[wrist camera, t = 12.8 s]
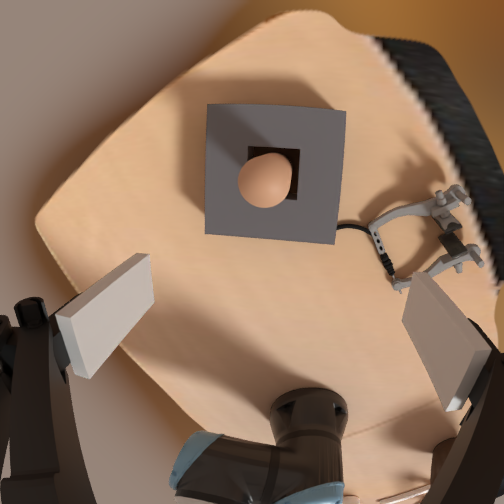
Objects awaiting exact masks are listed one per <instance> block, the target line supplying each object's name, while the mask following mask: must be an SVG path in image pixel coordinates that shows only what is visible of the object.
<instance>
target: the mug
mask: <svg viewBox="0 0 504 504" xmlns="http://www.w3.org/2000/svg"><path fill="white" fill-rule="evenodd" d="M342 504H360V499H359V498H358V497H356V496H344V497H343V502H342Z"/></svg>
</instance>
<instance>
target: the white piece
mask: <svg viewBox="0 0 504 504" xmlns="http://www.w3.org/2000/svg"><path fill="white" fill-rule="evenodd" d="M429 489H430V484H429V485H427V486H424V487H421V488H418V489H416V490H413V491H410V492H407V493H404V494H401V495H397V496H394V497H391V498H387V499H384V500H380V504H393V503H396V502H399V501H403V500H406V499H409V498H412V497H415V496H418V495H421V494H423V493H426V492H428V490H429ZM419 504H420V503H419Z"/></svg>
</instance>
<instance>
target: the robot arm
mask: <svg viewBox="0 0 504 504" xmlns="http://www.w3.org/2000/svg"><path fill="white" fill-rule="evenodd" d="M154 303H155V301H154V293H153V284H152V275H151V265H150V254H143V253H136V254H135V255H133V256H132V257H130V258H129V259H127V260H126V261H125V262H123V263H122V264H121V265H119V266H118V267H116V268H115V269H114V270H112V271H111V272H110V273H108V274H107V275H106V276H104V277H103V278H101V279H100V280H99V281H97V282H96V283H95V284H93V285H92V286H91V287H89V288H88V289H87V290H86V291H84V292H82V293H80V294H78V295H76V296H75V297H73V298H72V299H71V300H70V302H67V303H66V304H64V306H62V307H61V308H59V309H58V310H57V311H56V312H54V313H53V314H52V315H50V316H49V317H48V315H47V311H46V308H45V304H44V301H43V299H42V298H40V297H29V298H26V299H23V300H21V301H19V302H18V303H17V304H16V305H15V306H14V310H15V313H16V316H17V319H18V323H19V326H20V327H11V324H10V321H9V318H8V317H7V316H5V315H0V480H1V474H2V468H3V464H4V458H5V454H6V449H7V445H8V441H9V437H10V466H11V476H10V478H3V479H2V480H1V485H0V491H1V501H2V504H97V503H96V500H95V497H94V494H93V491H92V488H91V484H90V481H89V478H88V474H87V470H86V467H85V463H84V459H83V455H82V451H81V447H80V442H79V438H78V433H77V428H76V423H75V418H74V412H73V406H72V400H71V393H70V386H69V378H68V374H67V371H66V367H67V366H68V365H69V363H71V365H72V368H73V371H74V373H75V375H79V376H81V377H84V378H87V379H90V378H91V377H92V376H93V375H94V373H95V372H96V371H97V370H98V368H99V367H100V366H101V365H102V364H103V362H104V361H105V360H106V359H107V358H108V356H109V355H110V354H111V353H112V352H113V350H114V349H115V348H116V347H117V346H118V344H119V343H120V342H121V341H122V340H123V339H124V337H125V336H126V335H127V334H128V333H129V331H130V330H131V329H132V328H133V327H134V326H135V324H136V323H137V322H138V321H139V320H140V319H141V317H142V316H143V315H144V314H145V313H146V312H147V311H148V309H149V308H150V307H151V306H152V305H153V304H154ZM402 322H403V324H404V326H405V328H406V330H407V332H408V334H409V336H410V338H411V340H412V342H413V344H414V346H415V348H416V350H417V352H418V354H419V356H420V358H421V360H422V362H423V364H424V366H425V368H426V370H427V372H428V374H429V377H430V379H431V381H432V383H433V385H434V387H435V390H436V392H437V394H438V396H439V399H440V401H441V403H442V405H443V408H444V410H445V412H447V411H454V410H460V409H462V407H463V406H464V404H465V402H466V400H467V399H468V397H469V399H470V401H471V403H472V405H471V406H470V408H469V410H468V411H467V413H466V415H465V416H464V418H463V420H462V421H461V423H460V424H459V425H461V428H460V431H459V433H458V435H457V437H456V440H455V442H454V444H453V446H452V448H451V450H450V452H449V454H448V456H447V458H446V460H445V462H444V464H443V466H442V468H441V470H440V471H439V473H438V475H437V477H436V479H435V480H434V482H433V484H432V485H431V487H430V489H429V490H428V492H427V494H426V495H425V497H424V499H423V500H422V502H421V503H420V504H494V502H495V499H496V496H497V494H498V491H499V488H500V485H501V482H502V479H503V476H504V353H500V352H499V350H498V349H497V348H496V346H495V345H494V344H493V343H492V341H491V340H490V339H489V338H487V337H488V336H487V335H486V334H485V333H484V332H483V330H482V329H481V328H480V327H479V325H478V324H476V323H475V322H474V321H472V320H471V319H469V318H466V316H465V315H464V314H463V313H462V312H461V310H460V309H459V308H458V307H457V306H456V305H455V303H454V302H453V301H452V300H451V299H450V298H449V297H448V295H447V294H446V293H445V292H444V291H443V290H442V289H441V288H440V287H439V285H438V284H437V283H436V282H435V281H434V280H433V279H432V278H431V277H430V276H429V275H428V274H427V272H413V275H412V280H411V285H410V289H409V293H408V298H407V302H406V306H405V310H404V313H403V317H402ZM347 421H348V409H347V404H346V402H345V401H344V399H343V398H342V397H341V396H339V395H338V394H336V393H334V392H332V391H329V390H326V389H320V388H303V389H298V390H294V391H291V392H288V393H286V394H284V395H282V396H281V397H279V398H278V399H277V400H276V401H275V402H274V403H273V405H272V407H271V412H270V425H271V428H272V432H273V435H274V438H275V442H276V446H274V445H269V444H263V443H258V442H252V441H248V440H243V439H239V438H234V437H230V436H226V435H225V434H216V433H211V432H207V431H197V432H195V433H194V434H192V435H191V436H190V437H189V439H188V440H187V441H186V443H185V444H184V446H183V448H182V449H181V451H180V453H179V455H178V457H177V459H176V461H175V464H174V466H173V471H172V473H171V475H170V478H169V485H170V487H171V488H173V489H174V490H177V491H176V494H175V498H174V500H175V501H176V503H177V504H342V502H343V489H344V486H345V485H344V482H343V465H342V450H341V440H342V437H343V434H344V431H345V427H346V424H347Z"/></svg>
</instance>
